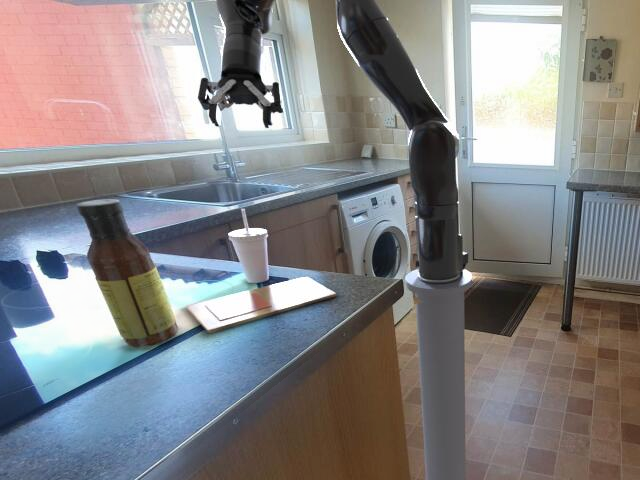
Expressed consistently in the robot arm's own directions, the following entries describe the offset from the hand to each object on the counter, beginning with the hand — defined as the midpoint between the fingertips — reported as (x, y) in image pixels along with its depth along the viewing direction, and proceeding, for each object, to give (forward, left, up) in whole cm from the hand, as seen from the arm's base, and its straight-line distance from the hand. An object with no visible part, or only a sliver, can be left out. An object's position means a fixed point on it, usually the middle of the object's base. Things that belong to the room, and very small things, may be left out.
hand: (241, 124), depth 80 cm
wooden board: (+9, +22, -28) cm, 37 cm away
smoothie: (+6, +10, -29) cm, 31 cm away
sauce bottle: (+25, +24, -29) cm, 45 cm away
